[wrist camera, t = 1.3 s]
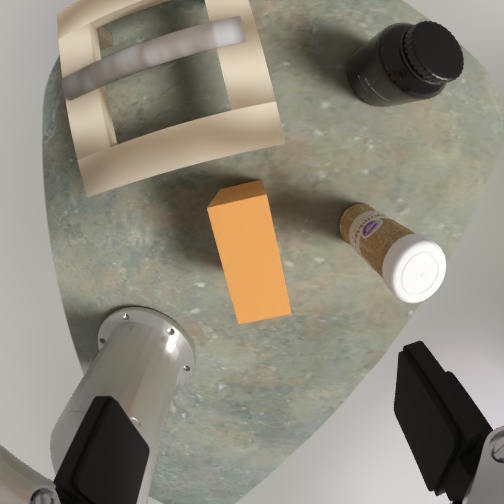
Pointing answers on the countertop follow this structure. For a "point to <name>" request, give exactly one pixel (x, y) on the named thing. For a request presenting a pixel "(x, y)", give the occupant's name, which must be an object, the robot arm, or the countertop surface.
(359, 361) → the countertop surface
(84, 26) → the wooden frame stool
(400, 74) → the supplement bottle
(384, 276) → the sprinkles bottle
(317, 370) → the countertop surface
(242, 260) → the orange block
